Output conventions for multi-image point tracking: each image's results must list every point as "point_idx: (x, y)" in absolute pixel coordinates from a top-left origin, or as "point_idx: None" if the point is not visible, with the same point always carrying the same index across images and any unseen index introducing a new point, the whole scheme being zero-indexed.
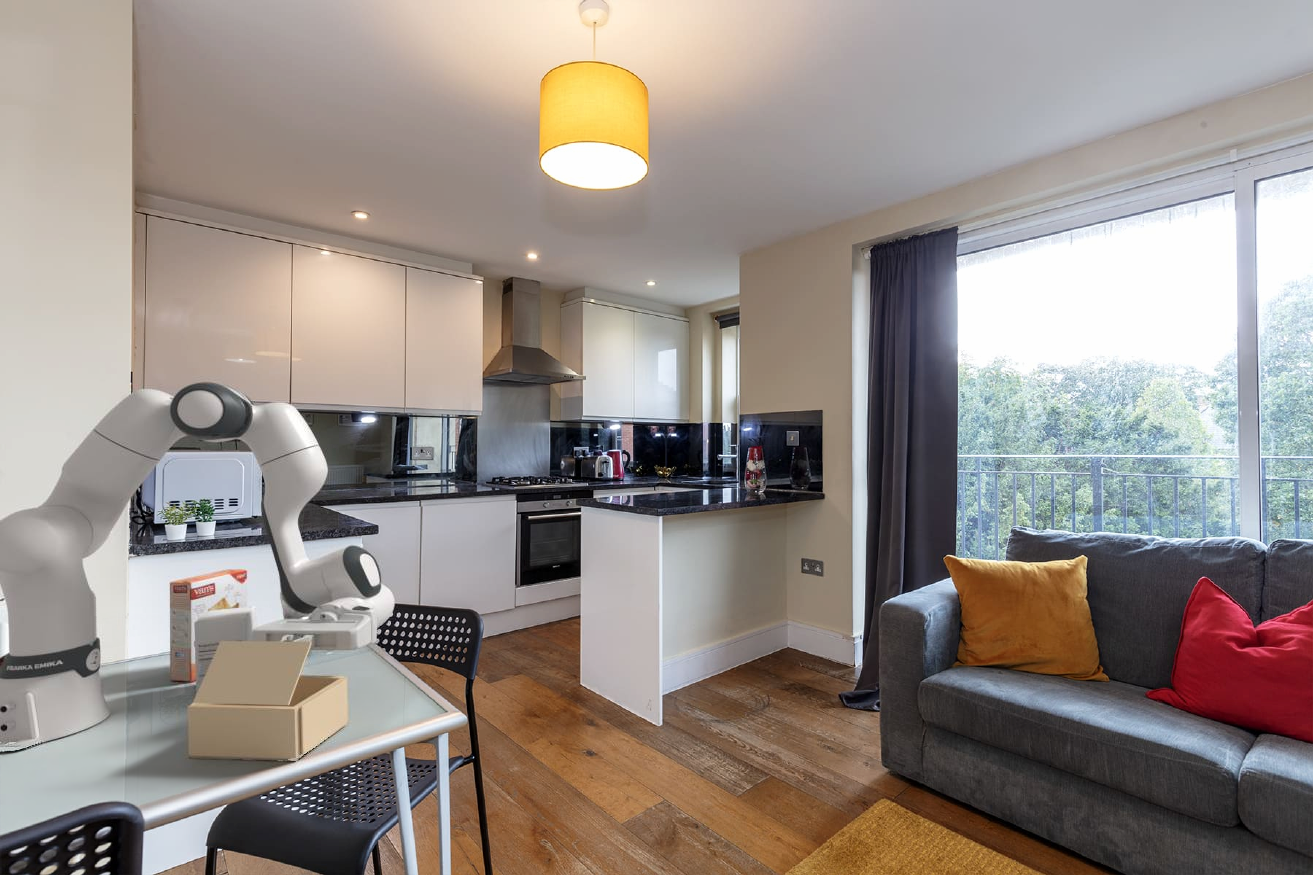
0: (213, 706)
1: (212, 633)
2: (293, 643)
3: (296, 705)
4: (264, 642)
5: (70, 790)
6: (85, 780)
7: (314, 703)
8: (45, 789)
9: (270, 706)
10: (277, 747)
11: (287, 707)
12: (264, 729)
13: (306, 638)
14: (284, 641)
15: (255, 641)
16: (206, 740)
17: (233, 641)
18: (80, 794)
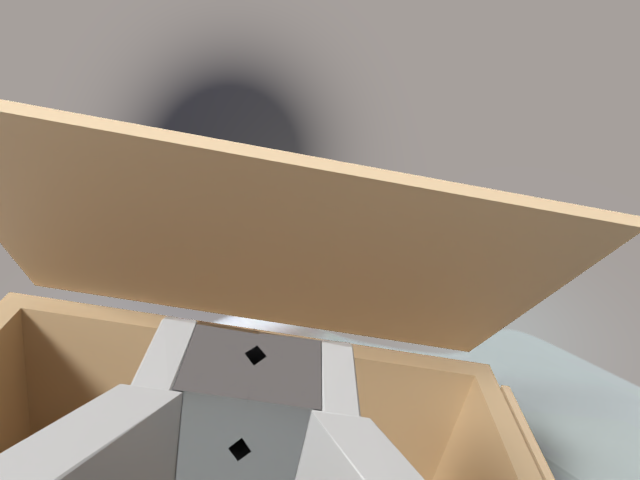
0: (384, 351)
1: None
2: (41, 118)
3: (8, 315)
4: (289, 157)
5: (544, 387)
6: (571, 418)
7: None
8: (603, 396)
9: (132, 322)
10: None
11: (47, 305)
12: None
13: (5, 457)
14: (288, 377)
15: (368, 167)
16: None
17: (540, 199)
18: (501, 373)
